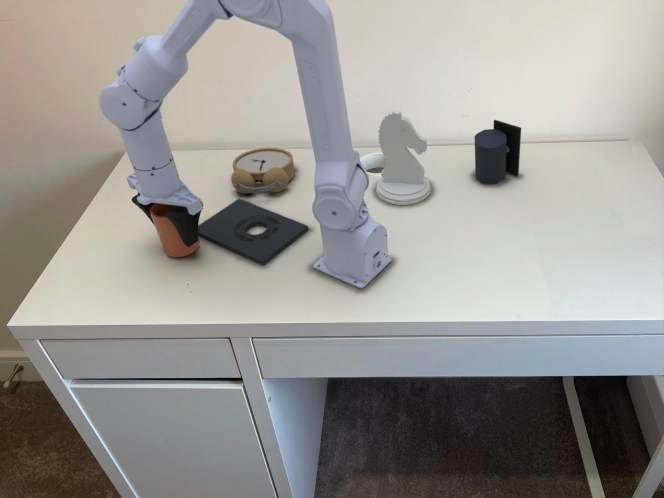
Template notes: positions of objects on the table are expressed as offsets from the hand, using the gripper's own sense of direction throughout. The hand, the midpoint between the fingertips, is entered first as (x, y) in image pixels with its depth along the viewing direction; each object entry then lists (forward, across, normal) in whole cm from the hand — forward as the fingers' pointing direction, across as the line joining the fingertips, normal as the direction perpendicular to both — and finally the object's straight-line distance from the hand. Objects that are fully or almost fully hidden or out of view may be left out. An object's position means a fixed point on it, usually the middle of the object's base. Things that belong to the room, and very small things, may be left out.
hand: (178, 236), depth 91 cm
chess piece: (+3, +21, +34) cm, 40 cm away
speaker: (+3, +33, +46) cm, 56 cm away
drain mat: (+3, +6, +10) cm, 11 cm away
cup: (+2, 0, 0) cm, 2 cm away
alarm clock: (+3, -3, +22) cm, 23 cm away
